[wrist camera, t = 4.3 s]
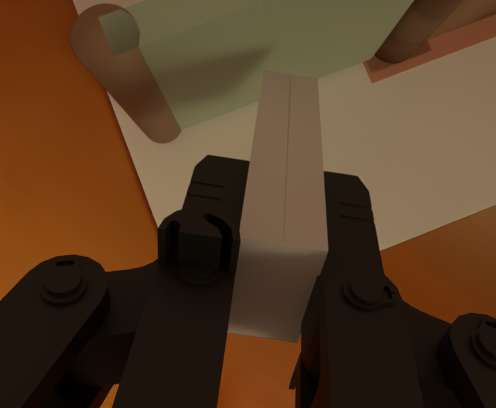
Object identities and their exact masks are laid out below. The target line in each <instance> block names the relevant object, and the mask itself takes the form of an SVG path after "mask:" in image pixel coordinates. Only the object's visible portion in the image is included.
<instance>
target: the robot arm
mask: <svg viewBox="0 0 496 408" xmlns="http://www.w3.org/2000/svg"><path fill="white" fill-rule="evenodd" d="M371 209H372V205H371V199H370V194H369V190H368V189H367V188H366V186H365V185H364V184H363V182H362V181H361V180H360V178H359V177H358V176H355V175H348V174H342V173H335V172H329V171H323V155H322V139H321V123H320V106H319V90H318V78H313V77H307V76H300V75H294V74H287V73H281V72H274V71H268V70H264V71H263V78H262V85H261V91H260V98H259V104H258V111H257V118H256V124H255V131H254V137H253V144H252V151H251V157H250V161H247V160H240V159H234V158H227V157H221V156H214V155H207V156H206V157H204V158H203V159H202V160H201V161H200V162H199V163H198V164H197V165H196V166H195V167H194V171H193V174H192V177H191V180H190V184H189V187H188V190H187V193H186V196H185V200H184V203H183V206H182V209H181V210H178V211H175V212H173V213H172V214H170V215H169V216H167V217H166V218H164V220H163V221H162V223H161V224H160V226H159V227H158V259H157V260H156V261H154V262H153V263H150V264H148V265H145V266H143V267H139V268H134V269H129V270H120V271H112V272H105V270H104V269H103V267H102V266H101V264H99V263H98V262H96V261H94V260H92V259H91V258H89V257H84V256H79V255H64V256H57V257H54V258H51V259H49V260H46V261H43V262H41V263H40V264H38V265H37V266H36V267H34V268H33V269H32V270H30V271H29V272H28V273H27V274H26V275H25V276H24V277H23V278H22V279H21V280H20V281H19V282H18V283H17V284H16V285H15V286H14V287H13V288H12V289H11V290H10V291H9V292H8V293H7V295H6V296H5V297H4V298H3V299H2V300H1V301H0V408H100V406H101V404H102V403H103V401H104V400H105V398H106V396H107V395H108V393H109V391H110V390H111V388H112V386H113V385H114V384H119V387H118V390H117V394H116V397H115V400H114V403H113V406H112V408H217V402H218V394H219V387H220V380H221V373H222V366H223V359H224V352H225V345H226V338H227V332H228V333H235V334H242V335H248V336H255V337H262V338H268V339H275V340H282V341H289V342H295V343H297V341H298V338H299V335H300V332H301V353H300V355H299V358H298V361H297V364H296V367H295V369H294V372H293V375H292V378H291V382H290V386H289V389H295V386H296V398H295V408H496V319H495V318H493V317H490V316H488V315H485V314H476V313H469V314H465V315H461V316H459V317H458V318H457V319H456V320H455V321H454V322H453V323H452V324H450V323H447V322H445V321H443V320H440V319H438V318H436V317H433V316H431V315H428V314H426V313H424V312H421V311H419V310H418V309H416V308H414V307H412V306H410V305H409V304H407V303H406V302H405V301H403V300H402V298H401V296H400V294H399V291H398V289H397V287H396V286H395V285H394V284H393V283H392V282H391V281H390V280H389V279H388V277H386V276H385V275H384V271H383V266H382V260H381V255H380V249H379V244H378V238H377V232H376V227H375V224H374V216H373V210H371Z"/></svg>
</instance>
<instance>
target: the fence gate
mask: <svg viewBox="0 0 496 408" xmlns="http://www.w3.org/2000/svg"><path fill="white" fill-rule="evenodd" d="M413 1H414V0H145V1H142V2H139V3H136V4H133V5H131V6H128V7H125V8H122V7H120V6H118V5H114V4H107V3H106V4H97V5H94V6H91V7H89V8H87V9H86V10H84V11H83V12H82V13H81V14H80V15H79V16H78V17H77V19H76V20H75V22H74V24H73V26H72V30H71V45H72V49H73V51H74V53H75V55H76V56H77V57H78V59H79V60H80V61H81V62H82V63H83V64H84V66H85V67H86V68H87V69H88V70H89V71H90V72H91V73H92V75H93V76H94V77H95V78H96V79H97V80H98V81H99V82H100V84H101V85H102V86H103V87H104V88H105V89H106V90H107V92H108V93H109V94H110V95H111V96H112V97H113V98H114V99H115V101H116V102H117V103H118V104H119V105H120V106H121V107H122V109H123V110H124V111H125V112H126V113H127V114H128V115H129V116H130V118H131V119H132V120H133V121H134V122H135V123H136V124H137V126H138V127H139V128H140V129H141V130H142V131H143V132H144V133H145V135H146V136H147V137H148V138H149V139H150V140H152V141H154V142H156V143H161V144H164V143H169V142H171V141H173V140H175V139H176V138H177V137H178V136H179V134H180V132H181V130H183V129H185V128H188V127H191V126H193V125H196V124H199V123H201V122H204V121H207V120H209V119H212V118H215V117H217V116H220V115H223V114H225V113H228V112H231V111H233V110H236V109H239V108H241V107H244V106H247V105H249V104H252V103H255V102H257V101H259V98H260V91H261V85H262V78H263V71H264V70H268V71H274V72H281V73H287V74H294V75H300V76H307V77H313V78H318V79H319V78H321V77H324V76H327V75H329V74H332V73H335V72H337V71H340V70H343V69H345V68H348V67H351V66H353V65H356V64H359V63H361V62H364V61H367V60H369V59H371V58H372V57H373V56H374V54H375V53H376V52H377V50H378V49H379V47H380V46H381V45H382V43H383V42H384V41H385V39H386V38H387V37H388V35H389V34H390V32H391V31H392V30H393V28H394V27H395V26H396V24H397V23H398V22H399V20H400V19H401V17H402V16H403V15H404V13H405V12H406V11H407V9H408V8H409V6H410V5H411V4H412V2H413Z"/></svg>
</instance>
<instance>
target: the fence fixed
mask: <svg viewBox="0 0 496 408" xmlns="http://www.w3.org/2000/svg"><path fill="white" fill-rule="evenodd" d="M495 14H496V0H414V1H413V2H412V4H411V5H410V6H409V8H408V9H407V11H406V12H405V13H404V15H403V16H402V17H401V19H400V20H399V22H398V23H397V24H396V26H395V27H394V28H393V30H392V31H391V32H390V34H389V35H388V37H387V38H386V39H385V41H384V42H383V43H382V45H381V46H380V47H379V49H378V50H377V52H376V53H375V54H374V55H375V56H376V57H377V58H378V59H380V60H382V61H384V62H386V63H392V64H395V63H400V62H403V61H405V60H407V59H408V58H409V57H410V56H411V55H412V54H413V53H414V52H415V51H416V50H417V49H418V47H419V46H420V45H421V44H422V43H423V42H424V41H426V40H429V39H431V38H434V37H437V36H439V35H442V34H445V33H447V32H450V31H453V30H455V29H458V28H461V27H463V26H466V25H469V24H471V23H474V22H477V21H479V20H482V19H485V18H487V17H490V16H493V15H495Z"/></svg>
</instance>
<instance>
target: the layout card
mask: <svg viewBox="0 0 496 408" xmlns="http://www.w3.org/2000/svg"><path fill="white" fill-rule="evenodd" d="M142 1H145V0H73V2H74V5H75V8H76V10H77V13H78V16H79V15H80V14H81V13H82V12H83V11H84V10H86V9H87V8H89V7H91V6H94V5H97V4H106V3H107V4H114V5H118V6H120V7H122V8H125V7H128V6H131V5H133V4H136V3H139V2H142ZM318 90H319V106H320V123H321V139H322V155H323V171H329V172H335V173H342V174H348V175H355V176H358V177H359V178H360V180H361V181H362V182H363V184H364V185H365V186H366V188H367V189H368V190H369V194H370V199H371V205H372V209H371V210H373V216H374V224H375V227H376V232H377V238H378V244H379V249H380V251H381V250H383V249H386V248H388V247H391V246H394V245H396V244H399V243H401V242H404V241H406V240H409V239H411V238H414V237H416V236H419V235H421V234H424V233H426V232H429V231H431V230H434V229H436V228H439V227H441V226H444V225H446V224H449V223H451V222H454V221H456V220H459V219H461V218H464V217H466V216H469V215H472V214H474V213H477V212H479V211H482V210H484V209H487V208H489V207H492V206H494V205H496V14H495V15H493V16H490V17H487V18H485V19H482V20H479V21H477V22H474V23H471V24H469V25H466V26H463V27H461V28H458V29H455V30H453V31H450V32H447V33H445V34H442V35H439V36H437V37H434V38H431V39H429V40H426V41H424V42H423V43H422V44H421V45H420V46H419V47H418V49H417V50H416V51H415V52H414V53H413V54H412V55H411V56H410V57H409V58H408V59H407V60H405V61H403V62H400V63H395V64H392V63H386V62H384V61H382V60H380V59H378V58H377V57H376V56H375V55H374V56H373V57H372V58H371V59H369V60H367V61H364V62H361V63H359V64H356V65H353V66H351V67H348V68H345V69H343V70H340V71H337V72H335V73H332V74H329V75H327V76H324V77H321V78H319V79H318ZM107 93H108V92H107ZM108 96H109V98H110V101H111V104H112V106H113V109H114V112H115V114H116V117H117V120H118V122H119V125H120V128H121V130H122V133H123V136H124V138H125V141H126V144H127V146H128V149H129V152H130V154H131V157H132V160H133V162H134V165H135V168H136V170H137V173H138V176H139V179H140V181H141V184H142V187H143V189H144V192H145V195H146V197H147V200H148V203H149V205H150V208H151V211H152V213H153V216H154V219H155V221H156V224H157V227H159V226H160V224H161V223H162V221H163V220H164V218H166V217H167V216H169V215H170V214H172V213H173V212H175V211H178V210H181V209H182V206H183V203H184V200H185V196H186V193H187V190H188V187H189V184H190V180H191V177H192V174H193V171H194V167H195V166H196V165H197V164H198V163H199V162H200V161H201V160H202V159H203V158H204V157H206V156H207V155H214V156H221V157H227V158H234V159H240V160H247V161H250V157H251V151H252V144H253V137H254V131H255V124H256V118H257V111H258V104H259V101H257V102H255V103H252V104H249V105H247V106H244V107H241V108H239V109H236V110H233V111H231V112H228V113H225V114H223V115H220V116H217V117H215V118H212V119H209V120H207V121H204V122H201V123H199V124H196V125H193V126H191V127H188V128H185V129H183V130H181V132H180V134H179V136H178V137H177V138H176V139H175V140H173V141H171V142H169V143H164V144H161V143H156V142H154V141H152V140H150V139H149V138H148V137H147V136H146V135H145V133H144V132H143V131H142V130H141V129H140V128H139V127H138V126H137V124H136V123H135V122H134V121H133V120H132V119H131V118H130V116H129V115H128V114H127V113H126V112H125V111H124V110H123V109H122V107H121V106H120V105H119V104H118V103H117V102H116V101H115V99H114V98H113V97H112V96H111V95H110V94H109V93H108Z"/></svg>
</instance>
